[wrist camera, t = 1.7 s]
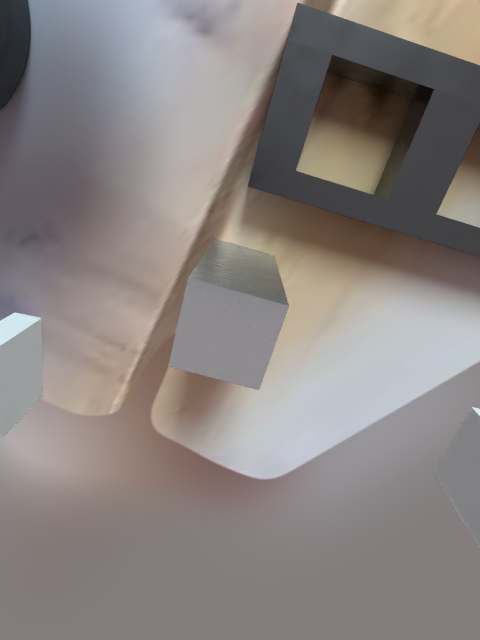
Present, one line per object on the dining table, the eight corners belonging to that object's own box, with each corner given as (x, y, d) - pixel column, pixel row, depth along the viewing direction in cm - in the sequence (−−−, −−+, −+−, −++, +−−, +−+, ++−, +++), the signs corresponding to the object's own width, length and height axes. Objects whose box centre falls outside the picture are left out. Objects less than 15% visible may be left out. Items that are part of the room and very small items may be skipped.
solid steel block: (200, 296, 29) (168, 366, 18) (214, 238, 27) (188, 277, 16) (256, 311, 30) (258, 390, 18) (274, 255, 28) (289, 305, 17)
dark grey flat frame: (248, 185, 26) (247, 186, 23) (291, 25, 22) (297, 2, 19) (513, 266, 27) (543, 275, 25) (595, 128, 24) (641, 121, 21)
